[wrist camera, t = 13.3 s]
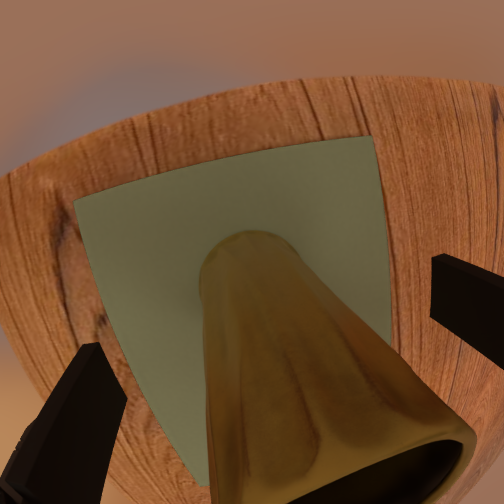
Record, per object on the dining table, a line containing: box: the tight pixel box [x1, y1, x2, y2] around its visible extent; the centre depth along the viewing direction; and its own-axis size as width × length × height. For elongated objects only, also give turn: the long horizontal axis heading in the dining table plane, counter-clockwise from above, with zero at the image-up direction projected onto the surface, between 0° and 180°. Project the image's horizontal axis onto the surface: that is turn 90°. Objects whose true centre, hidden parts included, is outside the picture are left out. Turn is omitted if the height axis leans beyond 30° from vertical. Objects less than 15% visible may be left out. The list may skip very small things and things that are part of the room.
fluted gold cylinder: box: [199, 230, 477, 504], centre depth 10 cm, size 6×6×14 cm
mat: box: [73, 135, 391, 487], centre depth 19 cm, size 26×18×1 cm
